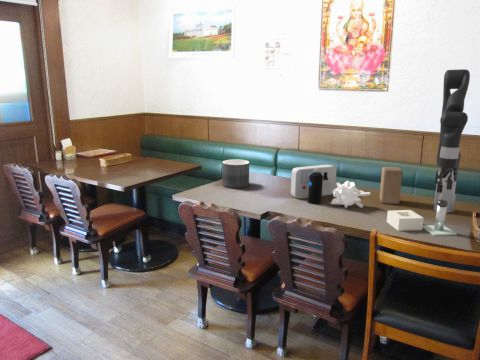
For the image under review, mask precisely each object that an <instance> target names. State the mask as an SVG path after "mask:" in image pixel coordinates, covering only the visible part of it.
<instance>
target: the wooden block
mask: <svg viewBox="0 0 480 360" xmlns="http://www.w3.org/2000/svg"><path fill="white" fill-rule="evenodd" d="M403 174H404V171H403V170H402V168H401V167H398V166H383V167H382V168H381V176H380V188H379V197H378V198H379V200H380V203H381V204H390V205H399V204H400V200H401V191H402V183H403V182H402V181H403Z"/></svg>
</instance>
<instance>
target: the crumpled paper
mask: <svg viewBox="0 0 480 360" xmlns="http://www.w3.org/2000/svg"><path fill="white" fill-rule="evenodd" d="M335 185H336V186H337V187H335V189H333V190H332V193H333V194H332V195H333V197H334V198H332V200H331V202H330V205H341V206H344V208H346V209H347V208H348V207H349V206H353V205H354V204H355V205H357V206H358V207H359V208H361V209H362V208H363V207H364V205H363V204H362V200H361V198H360V197H364V196H365V197H366V196H371V192H370V191H367V192H366V191H363V190H362V189H358V188H357V187H356V184H355V182H354V181H350V180H346V181H344V183H342V184H341V183H340V182H337V181H336V184H335Z"/></svg>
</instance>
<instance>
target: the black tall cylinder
mask: <svg viewBox="0 0 480 360" xmlns="http://www.w3.org/2000/svg"><path fill="white" fill-rule="evenodd" d="M322 184H323V175H322V174H321V173H319V172H318V168H315V172H313V173H311V174H310V175H309V190H308V198H307V203H308V204H310V205H320V204H322V203H323V201H322V200H323V199H322V197H323V196H322Z"/></svg>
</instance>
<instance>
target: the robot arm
mask: <svg viewBox="0 0 480 360" xmlns="http://www.w3.org/2000/svg"><path fill="white" fill-rule="evenodd" d="M470 79H471V73H470V71H469V70H468V69H466V68H465V69H460V68H459V69H447V70H446V71H445V73H444V75H443V92H442V94H443V95H442V107H441V108H442V109H441V116H440V119H439V120H440V121H439V123H440V129H439V133H440V134H439V143H438V147H437V148H438V149H437V154H436V164H437V166H438V167H440V170H436V173H435V177H434V178H435V179H434V180H435V181H434V184H436V187H435V194H434V201H433V211H435V212H436V211H437V200H446V201H448V205H447V208H446V214H448V213H453V212H454V211H455V206H456V205H455V204H456V199H457V198H456V197H457V194H455V192H456V185H457V178H458V172H459V167H460V162H461V157H462V156H461V152H460V144H461V137H462V133H463V132H464V129H465V127H466V126H467V122H468V120H469V119H468V118H469V117H468V114H467V113H466V112H464V110H465V100H466V99H465V98H466V97H467V92H468V89H469V85H470ZM451 90H455V91H453V92H451Z"/></svg>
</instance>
